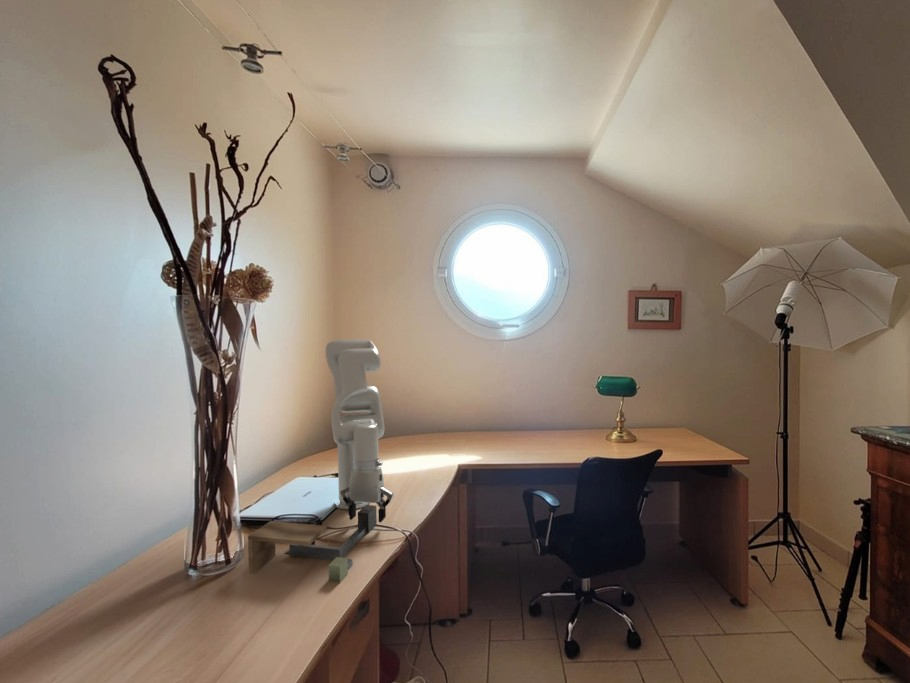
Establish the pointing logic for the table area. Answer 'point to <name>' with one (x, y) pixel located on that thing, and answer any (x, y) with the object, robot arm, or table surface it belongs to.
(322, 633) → the table surface
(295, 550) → the grey angular bent frame
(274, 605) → the table surface
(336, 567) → the pale green block
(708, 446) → the table surface
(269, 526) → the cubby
